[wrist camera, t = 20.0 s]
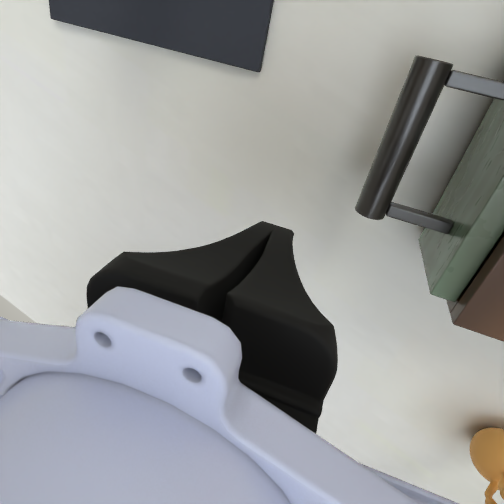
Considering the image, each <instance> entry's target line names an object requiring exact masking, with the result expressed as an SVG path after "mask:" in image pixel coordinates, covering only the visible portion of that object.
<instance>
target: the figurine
mask: <svg viewBox="0 0 504 504" xmlns="http://www.w3.org/2000/svg"><path fill="white" fill-rule="evenodd" d="M470 456H471V459H472V462H473V464H474V466H475V467H476V469H477V470H478V472H479V473H480V474H481V475H482V476H483V477H484V478H485V479H487V480H488V481H490V484H489V486H488V488H487V489H486V491H485V497H486V500H485V504H497V503H496V502H495V501H494V500H493V499H492V496H493V494H494V493H495V492H496V491H497V490H500V495H501V497H502V498H503V499H504V429H501V428H493V427H492V428H485V429H482V430H480V431H478V432H477V433H476V434H475V435H474V436H473V438H472V440H471V443H470Z"/></svg>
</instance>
